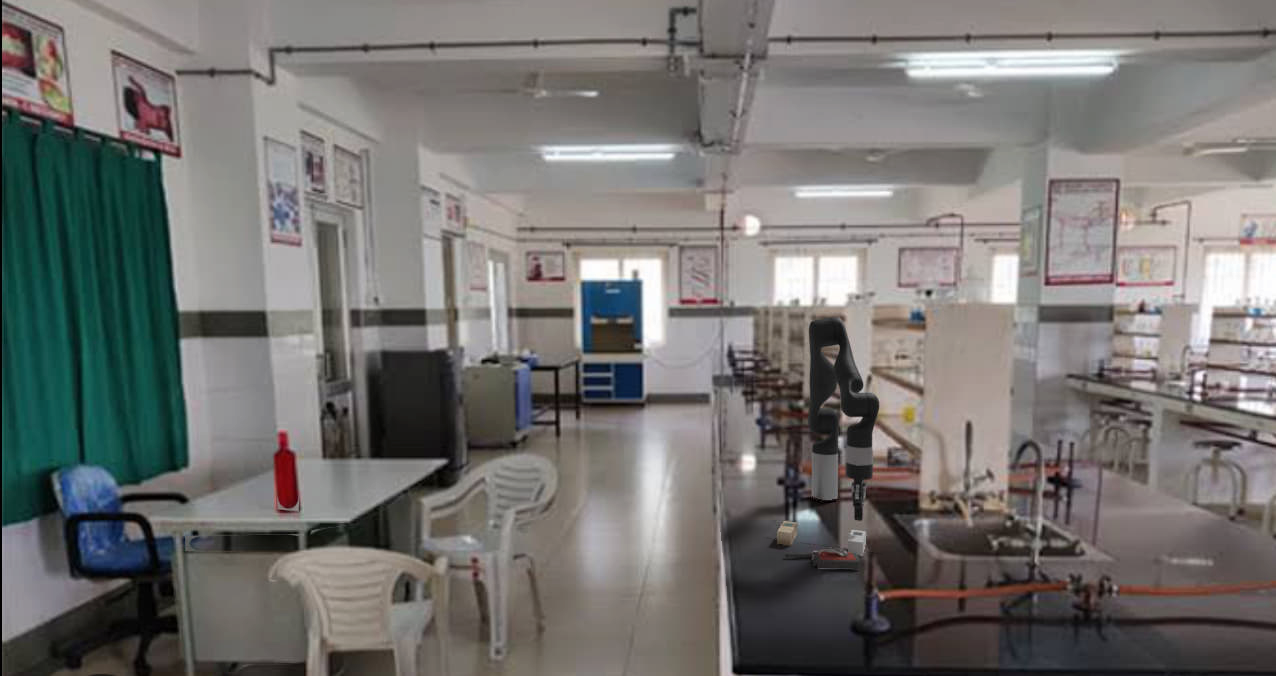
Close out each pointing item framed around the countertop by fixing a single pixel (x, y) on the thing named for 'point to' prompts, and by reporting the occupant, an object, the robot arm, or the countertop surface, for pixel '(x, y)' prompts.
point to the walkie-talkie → (830, 558)
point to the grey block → (857, 542)
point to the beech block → (787, 533)
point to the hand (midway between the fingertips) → (858, 519)
